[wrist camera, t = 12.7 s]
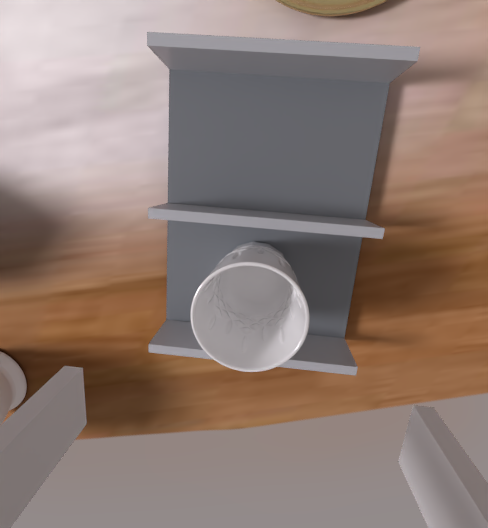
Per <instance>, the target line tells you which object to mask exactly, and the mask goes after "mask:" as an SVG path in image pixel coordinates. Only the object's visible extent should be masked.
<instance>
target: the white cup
mask: <svg viewBox="0 0 488 528" xmlns="http://www.w3.org/2000/svg"><path fill="white" fill-rule="evenodd" d="M309 320H310V318H309V308H308V304H307V301H306V299H305V296H304V294H303V292H302V290H301V287H300V285H299V282H298V280H297V278H296V276H295V273H294V271H293V270H292V268H291V266H290V264H289V263H288V262H287V261H286V259H285V257H284V255H283V253H281V252H280V251H278V250H277V249H276V248H274V247H273V246H271V245H270V244H266V243H260V242H254V241H253V242H249V243H246V244H242V245H239V246H237V247H236V248H235V249H234V250H232V251H231V252H230V253H229V254H227V255H226V256H225V257H224V258H223V259H222V260H221V261H220V262H219V263H218V264H217V265H216V267H215V268H214V269H213V270H212V272H211V273H210V274H209V275H208V277H207V278H206V279H205V280H204V281H203V282H202V284H201V285H200V286H199V288H198V290H197V291H196V293H195V296H194V298H193V301H192V305H191V325H192V329H193V332H194V335H195V337H196V339H197V341H198V343H199V345H200V346H201V347H202V349H203V350H204V351H205V352H206V353H207V354H208V355H209V356H210V357H211V358H212V359H214V360H215V361H217V362H218V363H220V364H222V365H224V366H226V367H228V368H231V369H234V370H238V371H244V372H259V371H265V370H269V369H272V368H275V367H277V366H280V365H281V364H283V363H285V362H286V361H288V360H289V359H290V358H292V357H293V356H294V355H295V354H296V353H297V351H298V350H299V349H300V347H301V346H302V344H303V343H304V341H305V338H306V336H307V333H308V329H309Z"/></svg>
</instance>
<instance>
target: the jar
mask: <svg viewBox="0 0 488 528" xmlns="http://www.w3.org/2000/svg"><path fill="white" fill-rule="evenodd" d="M26 390H27V383H26V378H25V375H24V373H23V371H22V369H21V368H20V366H19V365H18V364H17V363H16V362H15V361H14V360H13V359H12V358H11V357H9V356H8V355H6V354H5V353H3V352H0V425H1V424H2V422H3V421H4V419H5V417H6V415H7V413H8V411H9V410H12V409H14V408H15V407H17V406H18V405H19V404H20V403H21V402H22V401H23V399H24V397H25V394H26Z"/></svg>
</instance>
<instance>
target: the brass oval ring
mask: <svg viewBox="0 0 488 528" xmlns="http://www.w3.org/2000/svg"><path fill="white" fill-rule="evenodd" d="M276 1H277V2H279V3H281V4H283V5H285V6H287V7H289V8H291V9H294V10H296V11H299V12H303V13H307V14H311V15H319V16H341V15H349V14H353V13H358V12H361V11H364V10H368V9H370V8H373V7H375V6H377V5H380V4H382V3H384V2H386V1H387V0H276ZM366 1H367V2H366ZM303 4H304V5H303ZM307 5H308V6H307ZM311 6H312V7H311ZM318 7H319V8H318ZM341 7H342V8H341Z"/></svg>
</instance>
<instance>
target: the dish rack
mask: <svg viewBox="0 0 488 528" xmlns="http://www.w3.org/2000/svg"><path fill="white" fill-rule="evenodd" d="M147 46H148V47H149V48H150V49H151V50H152V51H153V52H154V53H155V54H156V55H157V56H158V57H159V59H160V60H161V61H162V62H163V63H164V64H165V65H166V66H167V67H168V68H169V69H170V75H169V156H168V203H166V204H162V205H158V206H154V207H150V208H148V218H151V219H162V220H168V237H167V318H166V321H165V322H164V324H163V325H162V326H161V328H160V329H159V331H158V332H157V333H156V335H155V336H154V337H153V339H152V340H151V342H150V343H149V352H151V353H160V354H169V355H178V356H187V357H196V358H205V359H212V358H211V357H210V356H209V355H208V354H207V353H206V352H205V351H204V350H203V349H202V347H201V346H200V345H199V343H198V341H197V339H196V337H195V335H194V332H193V329H192V325H191V305H192V301H193V298H194V296H195V293H196V291H197V290H198V288H199V286H200V285H201V284H202V282H203V281H204V280H205V279H206V278H207V277H208V275H209V274H210V273H211V272H212V270H213V269H214V268H215V267H216V265H217V264H218V263H219V262H220V261H221V260H222V259H223V258H224V257H225V256H226V255H227V254H229V253H230V252H231V251H232V250H234V249H235V248H236V247H237V246H239V245H242V244H246V243H249V242H253V241H254V242H260V243H266V244H270V245H271V246H273V247H274V248H276V249H277V250H278V251H280V252H281V253H283V255H284V257H285V259H286V261H287V262H288V263H289V264H290V266H291V268H292V270H293V271H294V273H295V276H296V278H297V280H298V282H299V285H300V287H301V290H302V292H303V294H304V296H305V299H306V301H307V304H308V308H309V318H310V320H309V329H308V333H307V336H306V338H305V341H304V343H303V344H302V346H301V347H300V349H299V350H298V351H297V353H296V354H295V355H294V356H293V357H292V358H290V359H289V360H288V361H286V362H285V363H283V364H281V365H280V366H277V367H285V368H294V369H303V370H312V371H321V372H330V373H339V374H348V375H356V373H357V368H358V367H357V365H356V363H355V360H354V358H353V356H352V354H351V352H350V350H349V347H348V345H347V343H346V341H345V339H344V337H345V332H346V326H347V320H348V315H349V309H350V303H351V298H352V292H353V287H354V281H355V275H356V270H357V264H358V258H359V253H360V247H361V242H362V237H367V238H378V239H383V235H384V230H385V228H383V227H381V226H378V225H376V224H374V223H372V222H369V221H367V220H365V219H366V213H367V208H368V202H369V197H370V191H371V185H372V180H373V174H374V169H375V163H376V157H377V152H378V146H379V140H380V135H381V129H382V124H383V118H384V112H385V107H386V101H387V95H388V90H389V84H390V82H392V81H393V80H394V79H395V78H397V77H398V76H399V75H400V74H402V73H403V72H404V71H406V70H407V69H408V68H409V67H411V66H412V65H413V64H414V63H416V62H417V61H418V56H419V51H420V47H411V46H392V45H374V44H356V43H338V42H320V41H302V40H284V39H266V38H248V37H229V36H211V35H193V34H175V33H157V32H147Z"/></svg>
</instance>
